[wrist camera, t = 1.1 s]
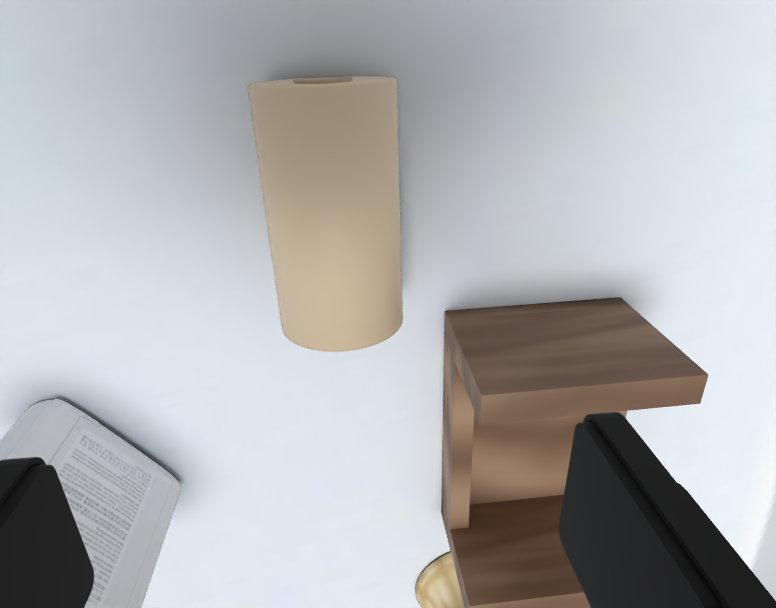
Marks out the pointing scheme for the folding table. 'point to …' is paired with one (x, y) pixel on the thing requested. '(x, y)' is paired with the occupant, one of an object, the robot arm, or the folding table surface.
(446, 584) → the hand bell
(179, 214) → the folding table surface
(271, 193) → the paper roll
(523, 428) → the roll cradle
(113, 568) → the photo printer
